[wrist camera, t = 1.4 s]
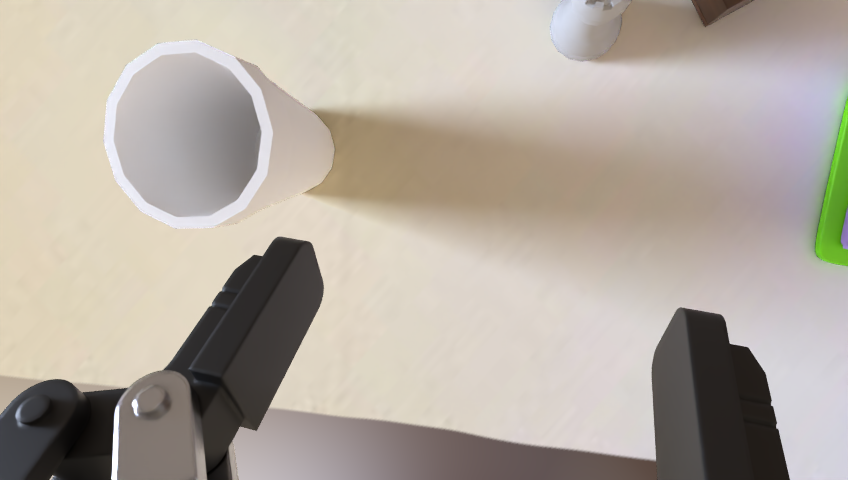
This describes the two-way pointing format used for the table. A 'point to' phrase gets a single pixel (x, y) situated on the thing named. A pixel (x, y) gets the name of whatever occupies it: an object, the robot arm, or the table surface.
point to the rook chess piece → (586, 27)
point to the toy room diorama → (836, 204)
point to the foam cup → (209, 137)
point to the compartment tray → (716, 9)
